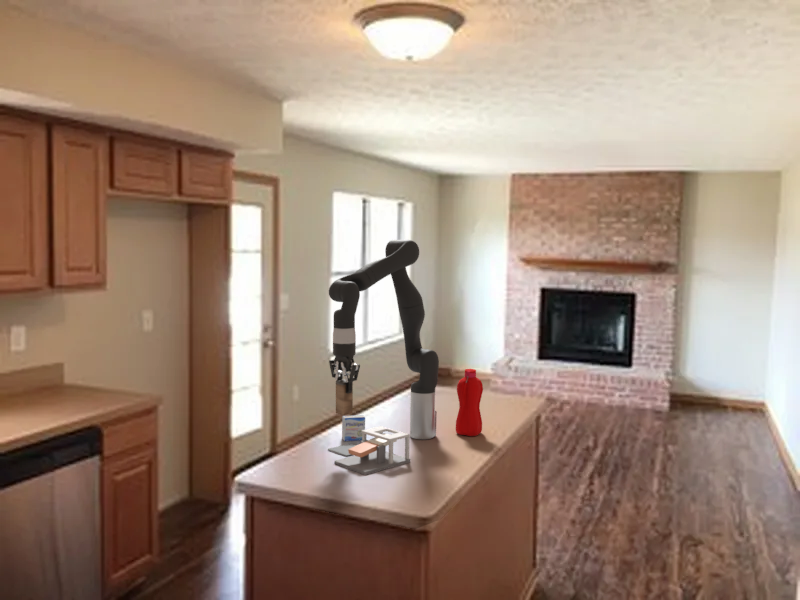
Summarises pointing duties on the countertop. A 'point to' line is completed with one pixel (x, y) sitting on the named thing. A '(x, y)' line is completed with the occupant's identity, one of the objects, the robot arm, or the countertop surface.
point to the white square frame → (378, 453)
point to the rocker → (368, 446)
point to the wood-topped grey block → (343, 398)
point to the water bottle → (469, 404)
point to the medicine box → (352, 427)
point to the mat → (342, 449)
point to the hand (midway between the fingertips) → (344, 391)
